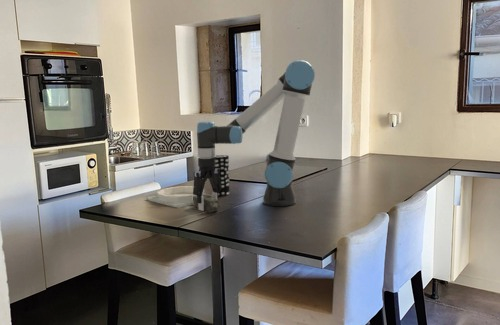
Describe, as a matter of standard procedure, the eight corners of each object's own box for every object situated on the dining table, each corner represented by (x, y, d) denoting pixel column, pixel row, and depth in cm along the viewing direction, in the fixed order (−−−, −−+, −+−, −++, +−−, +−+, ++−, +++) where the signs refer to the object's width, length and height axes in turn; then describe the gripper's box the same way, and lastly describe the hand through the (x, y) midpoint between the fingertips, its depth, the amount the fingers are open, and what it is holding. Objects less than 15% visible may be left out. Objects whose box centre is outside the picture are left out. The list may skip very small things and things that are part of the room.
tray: (216, 199, 223) (216, 195, 223) (177, 209, 206) (177, 205, 206) (184, 192, 239) (184, 189, 239) (147, 201, 222) (146, 197, 222)
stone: (222, 217, 206) (226, 200, 200) (210, 223, 201) (214, 206, 195) (201, 200, 212) (204, 183, 207) (189, 206, 207) (192, 188, 202)
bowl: (214, 198, 223) (213, 190, 222) (177, 207, 207) (177, 198, 206) (184, 192, 238) (184, 184, 237) (149, 200, 222) (148, 191, 221)
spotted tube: (214, 198, 226) (213, 157, 223) (211, 194, 234) (210, 155, 231) (231, 196, 228) (230, 156, 225) (227, 193, 236) (226, 154, 233)
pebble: (198, 205, 213) (197, 197, 213) (201, 205, 210) (199, 197, 210) (191, 206, 211) (189, 199, 211) (193, 206, 208) (192, 199, 208)
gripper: (217, 154, 210) (218, 202, 213) (182, 159, 195) (184, 211, 198) (229, 155, 205) (230, 205, 208) (194, 160, 190) (196, 214, 193)
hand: (208, 208), depth 203 cm, fingers closed on stone, 7 cm apart
